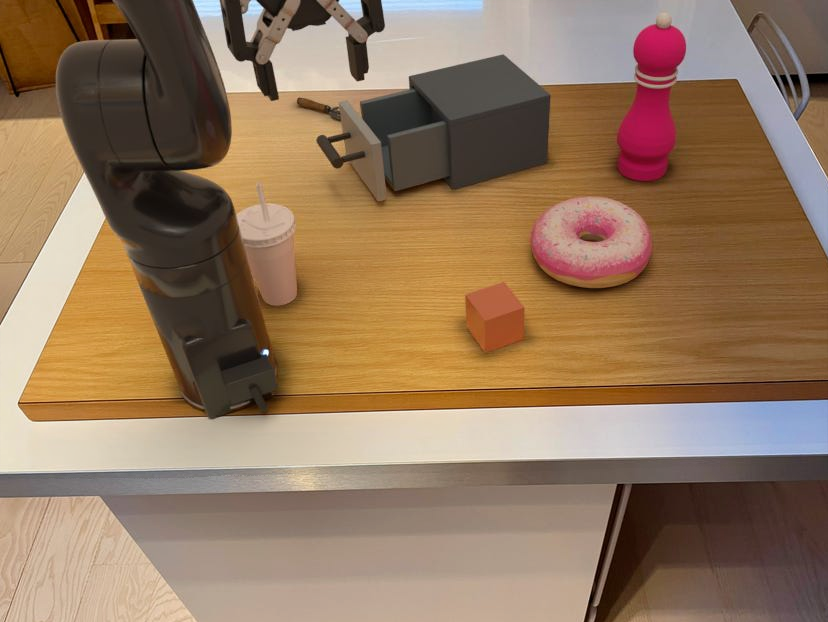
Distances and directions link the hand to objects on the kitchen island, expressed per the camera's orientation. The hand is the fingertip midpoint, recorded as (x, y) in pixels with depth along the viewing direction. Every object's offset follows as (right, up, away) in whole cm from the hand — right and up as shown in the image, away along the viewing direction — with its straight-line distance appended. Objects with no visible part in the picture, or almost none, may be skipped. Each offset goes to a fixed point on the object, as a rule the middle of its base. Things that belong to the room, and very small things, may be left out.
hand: (316, 87), depth 78 cm
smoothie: (-6, -19, +11) cm, 23 cm away
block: (+17, -23, +6) cm, 30 cm away
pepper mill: (+37, -2, +27) cm, 46 cm away
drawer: (+5, -2, +26) cm, 26 cm away
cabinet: (+16, +1, +30) cm, 34 cm away
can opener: (-7, +9, +39) cm, 40 cm away
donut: (+28, -15, +14) cm, 35 cm away
